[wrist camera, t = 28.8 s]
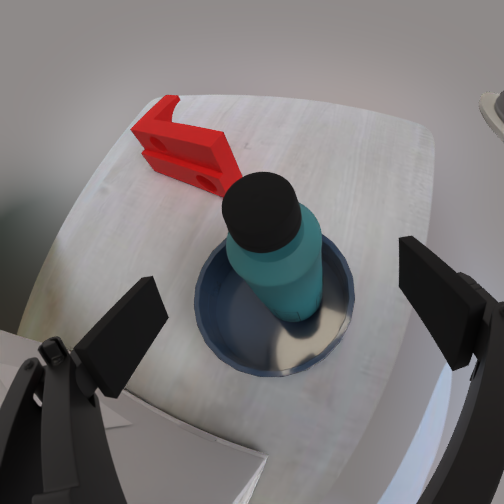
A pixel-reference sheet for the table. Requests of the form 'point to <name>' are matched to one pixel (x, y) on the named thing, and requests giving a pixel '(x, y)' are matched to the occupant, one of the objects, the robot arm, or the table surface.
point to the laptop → (156, 446)
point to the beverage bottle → (274, 244)
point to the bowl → (270, 318)
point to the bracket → (186, 149)
